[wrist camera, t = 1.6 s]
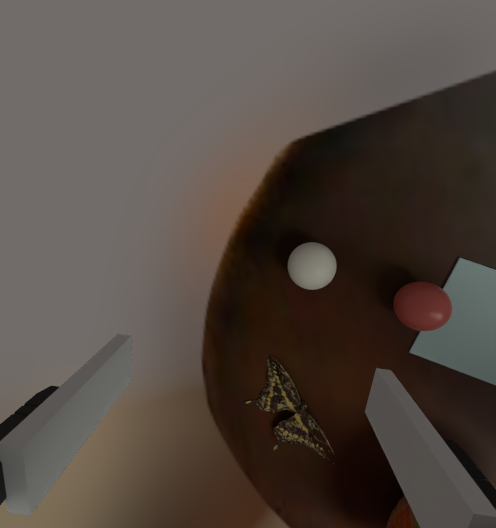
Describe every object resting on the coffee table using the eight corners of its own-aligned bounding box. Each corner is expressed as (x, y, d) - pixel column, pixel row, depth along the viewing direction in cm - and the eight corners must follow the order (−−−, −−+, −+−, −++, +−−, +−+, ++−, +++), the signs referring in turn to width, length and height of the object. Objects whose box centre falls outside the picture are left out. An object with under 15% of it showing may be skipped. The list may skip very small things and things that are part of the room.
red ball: (443, 286, 34) (475, 300, 28) (422, 326, 36) (448, 348, 30) (398, 270, 35) (419, 280, 29) (378, 310, 36) (395, 328, 30)
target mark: (575, 297, 32) (577, 297, 32) (513, 391, 35) (514, 392, 35) (459, 257, 33) (460, 257, 33) (408, 351, 36) (409, 352, 36)
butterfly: (227, 376, 42) (274, 353, 37) (238, 365, 45) (282, 342, 41) (290, 484, 40) (348, 474, 35) (297, 464, 43) (352, 453, 38)
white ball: (339, 249, 35) (349, 255, 30) (322, 289, 37) (328, 302, 31) (297, 234, 36) (298, 237, 30) (281, 274, 37) (279, 284, 32)
